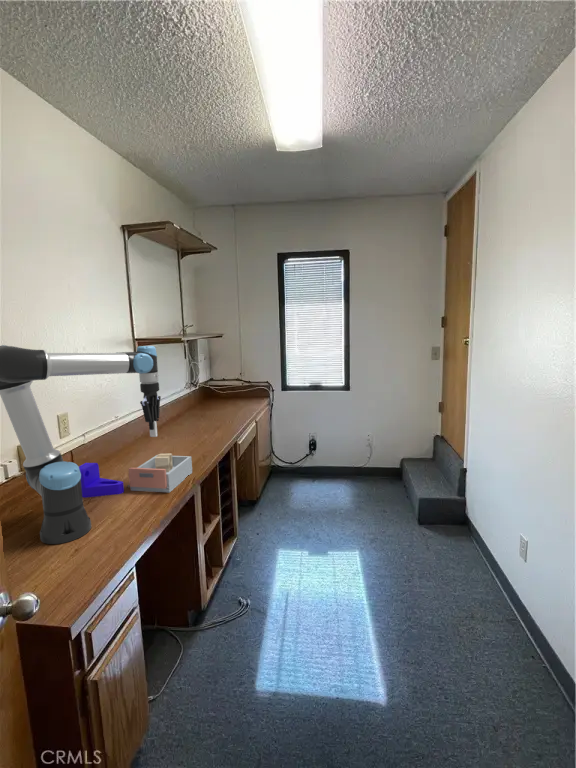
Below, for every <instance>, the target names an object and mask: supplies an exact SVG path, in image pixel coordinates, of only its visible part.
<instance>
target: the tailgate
mask: <svg viewBox="0 0 576 768" xmlns="http://www.w3.org/2000/svg"><path fill="white" fill-rule="evenodd" d="M127 470H128V481H129V482H128V484H129V485H130V487H146V488H165V489H166V488H167V479H166V469H152V468H137V467H129V468H128V469H127ZM130 487H129V488H130Z"/></svg>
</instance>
